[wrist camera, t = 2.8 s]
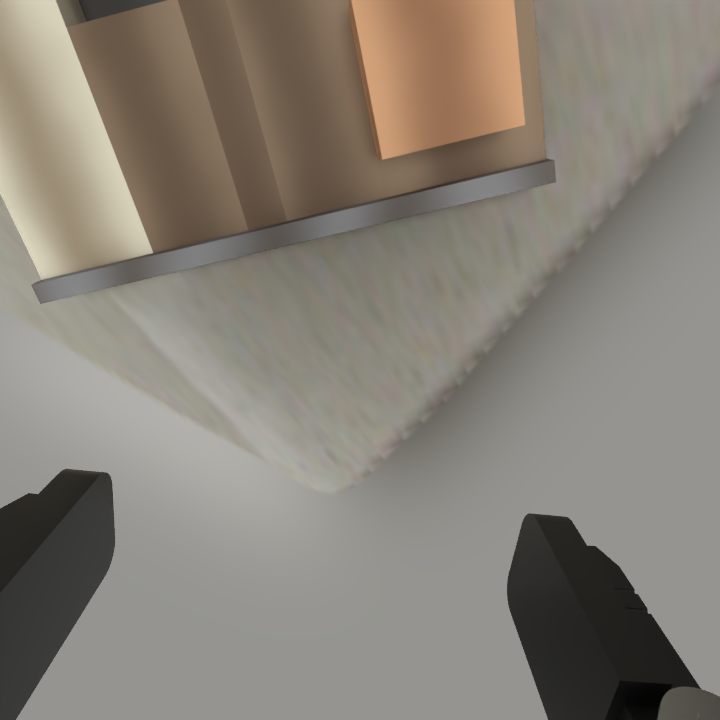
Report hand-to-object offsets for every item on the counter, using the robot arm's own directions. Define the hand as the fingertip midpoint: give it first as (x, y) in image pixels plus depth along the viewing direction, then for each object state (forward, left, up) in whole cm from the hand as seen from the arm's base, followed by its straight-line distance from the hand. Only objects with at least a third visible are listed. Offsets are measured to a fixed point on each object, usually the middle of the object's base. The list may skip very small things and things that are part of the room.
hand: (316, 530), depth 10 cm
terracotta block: (-11, 0, -19) cm, 22 cm away
